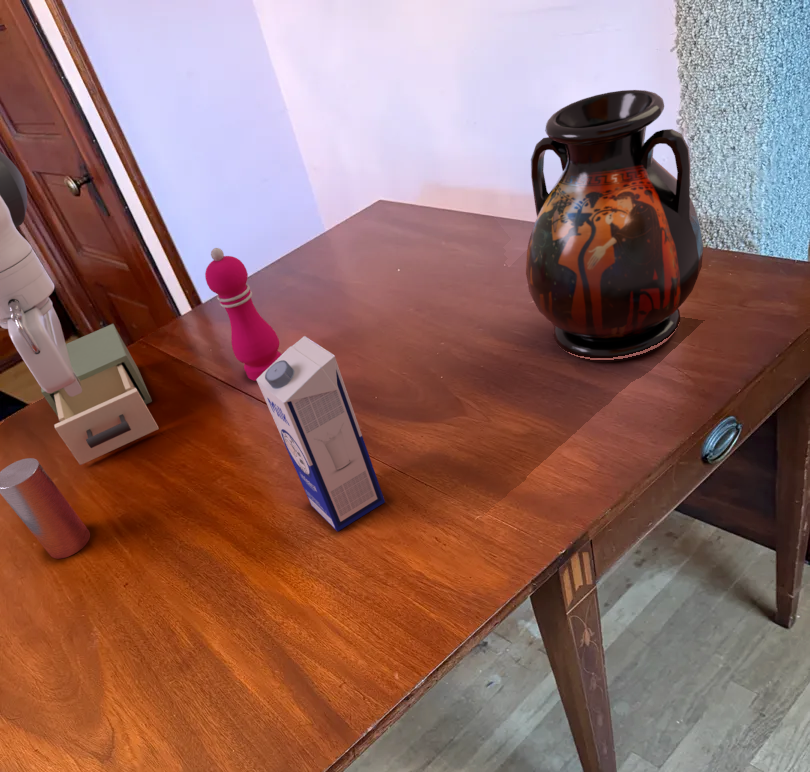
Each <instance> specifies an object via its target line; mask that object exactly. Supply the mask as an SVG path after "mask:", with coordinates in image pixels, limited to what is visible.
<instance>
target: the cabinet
mask: <svg viewBox="0 0 810 772" xmlns="http://www.w3.org/2000/svg"><path fill="white" fill-rule="evenodd" d="M66 347H67V351H68V355H69V359H70V362H71V366H72V368H73V370H74V372H75V374H76V375H77V377H78V379H79V380H80V381H81V380H84V379H86V378H88V377H90V376H93V375H95V374H97V373H100V372H102V371H104V370H106V369H109V368H111V367H113V366H115V365H118V364H120V363H122V364H123V366H124V368H125V370H126V371H127V373H128V375H129V377H130V378H131V380H132V382H133V384H134V385H135V387H136V389H137V390H138V392H139V394H140V396H141V397H142V399H143V401H144V403H145V404H146V405H148V404H150V403H152V402H153V400H152V397H151V395H150V393H149V390H148V388H147V386H146V384H145V382H144V379H143V377H142V375H141V371H140V370H139V367H138V366H137V363H136V362H135V360H134V359H133V356H132V354H131V353H130V351H129V349H128V348H127V346H126V344H125V342H124V340H123V339H122V337H121V335H120V333H119V332H118V329H117V328H116V326H115V324H114V323H111V324H109V325H107V326H104V327H102V328H100V329H98V330H95V331H92V332H91V333H88V334H86V335H84V336H81V337H79V338H77V339H74V340H72V341H70V342H68V343H66ZM62 389H63V388H62ZM59 390H61V389H59ZM59 390H57V391H59ZM40 391H41V394H42V395H43V398H45V400H46V402H47V403H48V405H49V406H50V408H51V409H52V410H53V412H54V414H55V416H57V418H58V419H59V417H58V412H57V407H56V402H55V397H54V392H52V393H47V392H45V391H44V390H43V389H42V388H41V387H40ZM57 391H55V392H57Z"/></svg>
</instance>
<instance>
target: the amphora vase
mask: <svg viewBox="0 0 810 772" xmlns="http://www.w3.org/2000/svg"><path fill="white" fill-rule="evenodd" d="M664 109H665V102H664V99H663V97H661V96H660V95H659V94H657V93H656V92H654V91H648V90H646V89H645V90H643V89H624V90H616V91H609V92H605V93H600V94H594V95H592V96H588V97H585V98H582V99H580V100H577V101H574V102H571V103H569V104H567V105H566V106H564V107H562V108H560V109H558V110H557V111H556V112H554V113H553V114H552V115H551V116H550V117H549V118H548V120H547V121H546V123H545V129H544V131H545V134H546V135H547V137H546V136H545V137H543V138H542V139H540V141H538V142H537V143H536V144H535V146H534V149H533V152H532V155H531V158H530V176H531V177H530V178H531V184H532V185H531V186H532V193H533V199H534V200H533V201H534V206H535V213H536V218H535V221H534V224H533V227H532V230H531V233H530V236H529V239H528V243H527V249H526V260H525V262H526V263H525V276H526V281H527V287H528V292H529V294H530V296H531V299H532V301H533V302H534V304H535V307H536V308H537V310H538V311H539V312H540V314H541V315H543V317H544V318H546V320H548V321H549V322H550V323H551V324H553V333H552V335H553V338H554V341H555V340H556V341H555V343H556V342H557V343H556V345H557V344H558V345H559V346H560V347H561V348H562V349H564V350H565V351H567V352H570V353H572V354H575V355H578V356H584V357H590V358H613V357H618V356H625V355H629V354H633V353H636V352H640V351H643V350H645V349H648V348H650V347H651V346H654V345H657V344H658V343H660V342H662V341H663V340H664V339H666V338H668V337H669V336H670V335H671V334H672V333H673V332H674V331H675V329H676V328H677V327H678V324H679V322H680V323H681V313H680V312H681V311H680V309H679V308H680V307H681V306H682V305H683V304H684V303H685V302H686V300H687V299H688V297H689V296H690V295H691V294H692V292H693V290H694V288H695V285H696V283H697V280H698V278H699V275H700V272H701V270H702V268H703V257H704V256H703V254H704V244H703V243H704V242H703V237H702V231H701V225H700V221H699V216H698V213H697V211H696V208H695V205H694V202H693V200H692V198H691V193H690V192H691V166H692V165H691V156H690V148H689V145H688V144H687V142H686V140H685V138H684V136H683V134H682V133H681V132H679V131H677V130H675V129H673V128H668V129H661V130H657V131H655V132H653V134H652V135H651V136H649V138H647V139H646V133H647V127H649V126H650V125H652V123H654V122H655V121H656V120H658V119H659V118H660V116H661V115H662V113H663V111H664ZM659 144H660V145H661V144H662V145H666V146H668V147H669V148H670V149H671V152H672V153H673V156H674V160H675V167H676V173H677V174H676V177H675V176H674V175H673V174H672V173H670V172H669V171H668V169H666V168H665V167H664V166H663V165H662V164H660V163H659V162H658V161H657V160H656V159H655V158H654V148H655V147H656V146H657V145H659ZM546 151H552V152H553V153H555V154H556V156H557V157H558V158H559V160H560V165H561V170H562V173H561V175H560V176H559V178H558V180H557V181H556V183H555V184H554V185H553V187H552V189H551V190H550V191H549V192H548V189H547V183H546V177H545V173H544V168H545V167H544V165H545V154H546ZM679 325H680V324H679ZM678 328H679V327H678ZM666 343H667V342H665V343H663V344H662V345H660V346H659V347H657V348H655V349H653V350H650V351H648V352H646V353H643V354H640V355H636V356H632V357H628V358H623V359H614V360H590V359H585V358H580V357H576V356H574V355H571V354H569V353H566V354H567V355H569V356H572V357H574V358H576V359H578V360H583V361H590V362H597V363H598V362H601V363H603V362H604V363H611V362H619V361H626V360H630V359H634V358H639V357H642V356H644V355H646V354H649V353H651V352H654V351H657V349H659V348H660V347H662V346H663V345H665V344H666ZM558 345H557V346H558ZM559 346H558V347H559ZM560 347H559V348H560ZM561 348H560V349H561ZM562 349H561V350H562ZM564 350H563V351H564ZM565 351H564V352H565Z"/></svg>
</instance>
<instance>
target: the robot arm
mask: <svg viewBox="0 0 810 772" xmlns="http://www.w3.org/2000/svg"><path fill="white" fill-rule="evenodd" d="M26 186H27V185H26V183H25V179H24V177H23V175H22V174H21V172H20V170H19V169H18V167H17V166H16V165H15V163H13V161H12V160H11V159H10V158H9V157H7V155H6V154H4V153H3V152H2V151H0V327H1V328H2V329H4V330H7V331H8V336H9V337H10V340H11V342H12V343H13V346H14V347H15V349H16V351H17V352H18V354H19V355H20V357H21V359H22V360H23V362H24V364H25V365H26V366H27V368H28V370H29V371H30V373H31V374H32V377H33V378H34V379H35V380H36V382H37V384H38V385H39V387H40V389H41V388H42V389H43V390H44V391H45V392H47V393H52V392H55V391H57V390H59V389H62V388H64V389H65V391H66V392H67V394H68V395H69V396H70V397H73V396H76V395H78V394H80V393H81V392H82V387H81V384H80V380H79V379H78V377H77V375H76V374H75V372H74V370H73V368H72V366H71V362H70V359H69V355H68V351H67V347H66V344H67V343H66V340H65V337H64V332H63V329H62V324H61V322H60V319H59V317H58V314H57V312H56V310H55V308H54V306H53V301H52V300H51V298H50V296H51V295H52V294H53V292H54V290H55V284H54V282H53V280H52V278H51V277H50V275H49V274H48V272H47V270H46V268H45V267H44V266H43V264H42V262H41V260H40V258H39V257H38V255H37V254H36V252H35V251H34V249H33V247H32V245H31V244H30V243H29V241H28V240H27V239H26V238H25V237H24V236H23V235H22V234H21V233H20V232H19V231H18V229H17V228H18V227H20V226H21V225H23V223H24V221H25V218H26V214H27V208H28V193H27V187H26Z"/></svg>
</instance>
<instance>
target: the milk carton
mask: <svg viewBox="0 0 810 772" xmlns="http://www.w3.org/2000/svg"><path fill="white" fill-rule="evenodd" d="M256 380H257V381H256V383H257V384H258V387H259V389H260V392H261V394H262V397H263V399H264V400H265V402H266V405H267V407H268V411H269V412H270V414H271V417H272V418H273V421H274V423H275V426H276V428H277V430H278V432H279V435H280V438H281V439H282V442H283V445H284V447H285V448H286V451H287V453H288V455H289V458H290V461H291V463H292V465H293V467H294V470H295V471H296V474H297V476H298V478H299V481H300V483H301V486H302V488H303V490H304V492H305V495H306V497H307V500H308V501H309V504H310V506H311V507H312V508H313V509H314V510H315V511H316V512H317V513H318V514H319V515H320V516H321V517H322V518H323V519H324V520H325V521H326V522H327V523H328V524H329V525H331V527H332V529H334V530H335V531H336V532H340V531H341V530H343V529H345V528H346V527H348V526H349V525H351V524H353V523H354V522H356V521H357V520H359V519H361V518H362V517H364V516H366V515H367V514H369V513H370V512H372V511H373V510H375V509H376V508H378V507H380V506H381V505H383V504H384V503H386V500H385V497H384V494H383V492H382V489H381V486H380V483H379V480H378V477H377V475H376V471H375V468H374V466H373V463H372V460H371V457H370V454H369V451H368V448H367V445H366V443H365V440H364V437H363V434H362V431H361V428H360V425H359V422H358V419H357V416H356V414H355V410H354V408H353V404H352V402H351V399H350V397H349V393H348V391H347V388H346V387H347V386H346V385H345V382H344V379H343V376H342V373H341V370H340V368H339V364H338V362H337V358H336V355H334V354H333V353H332V352H330V351H329V350H328V349H325V348H324V347H322V346H321V345H319V344H318V343H317V342H315V341H313V340H312V339H310V338H309V337H307V336H306V335H304V336H302V337H301V338H300V339H299V340H298V341H296V342H295V343H294V344H293V345H290V346H289V347H288V348H287V349H286V350H285V351H284V352H283V353H281V356H280V357H279V358H278V359H277V360H276V361H275V362H274V363H273V364H272V365H271V366H270V367H269V368H268V369H266V370H265V371H264V372H263V373H262V374H261V375H260V376H259V377H258V378H257V379H256Z"/></svg>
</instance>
